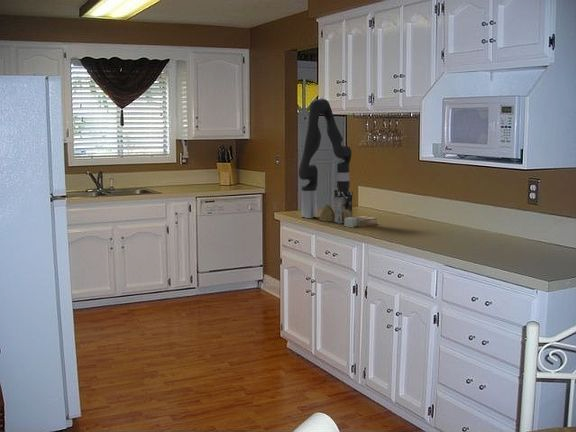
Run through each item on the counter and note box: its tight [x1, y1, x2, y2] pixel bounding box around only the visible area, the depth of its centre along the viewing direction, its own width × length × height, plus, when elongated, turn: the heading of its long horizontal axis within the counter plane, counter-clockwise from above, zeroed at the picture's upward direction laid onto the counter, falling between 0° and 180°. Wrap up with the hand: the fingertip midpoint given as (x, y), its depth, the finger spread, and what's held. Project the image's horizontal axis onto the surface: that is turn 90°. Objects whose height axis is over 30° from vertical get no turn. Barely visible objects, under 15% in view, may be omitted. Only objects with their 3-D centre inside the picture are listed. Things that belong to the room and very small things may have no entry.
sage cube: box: [343, 216, 358, 228], centre depth 382 cm, size 5×5×5 cm
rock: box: [318, 204, 335, 222], centre depth 403 cm, size 11×9×10 cm
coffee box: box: [333, 195, 353, 224], centre depth 396 cm, size 9×6×16 cm
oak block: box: [352, 215, 378, 227], centre depth 390 cm, size 12×12×4 cm
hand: (343, 207), depth 396 cm, fingers closed on coffee box, 6 cm apart
